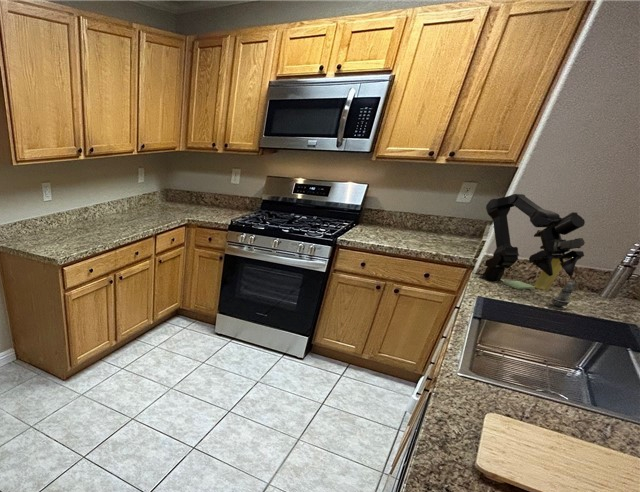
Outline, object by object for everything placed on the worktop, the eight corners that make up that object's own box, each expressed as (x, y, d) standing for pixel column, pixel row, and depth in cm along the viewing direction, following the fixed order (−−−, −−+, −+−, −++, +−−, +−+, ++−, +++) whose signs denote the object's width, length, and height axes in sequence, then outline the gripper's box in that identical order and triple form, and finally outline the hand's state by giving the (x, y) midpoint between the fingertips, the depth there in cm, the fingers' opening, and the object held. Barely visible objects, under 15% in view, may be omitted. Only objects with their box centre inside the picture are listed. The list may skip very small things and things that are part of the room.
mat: (502, 283, 195) (502, 281, 194) (517, 282, 196) (518, 280, 196) (518, 289, 188) (519, 287, 188) (534, 288, 190) (535, 286, 189)
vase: (531, 284, 194) (550, 254, 186) (548, 287, 191) (567, 256, 183) (533, 288, 190) (551, 257, 182) (550, 291, 187) (569, 260, 179)
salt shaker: (558, 305, 173) (576, 277, 166) (569, 310, 168) (588, 282, 161) (543, 304, 173) (561, 276, 167) (554, 309, 168) (572, 281, 162)
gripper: (552, 229, 163) (562, 266, 160) (594, 230, 165) (605, 266, 162) (524, 244, 174) (532, 279, 171) (563, 245, 176) (572, 278, 173)
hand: (561, 275), depth 169 cm, fingers open, 9 cm apart
